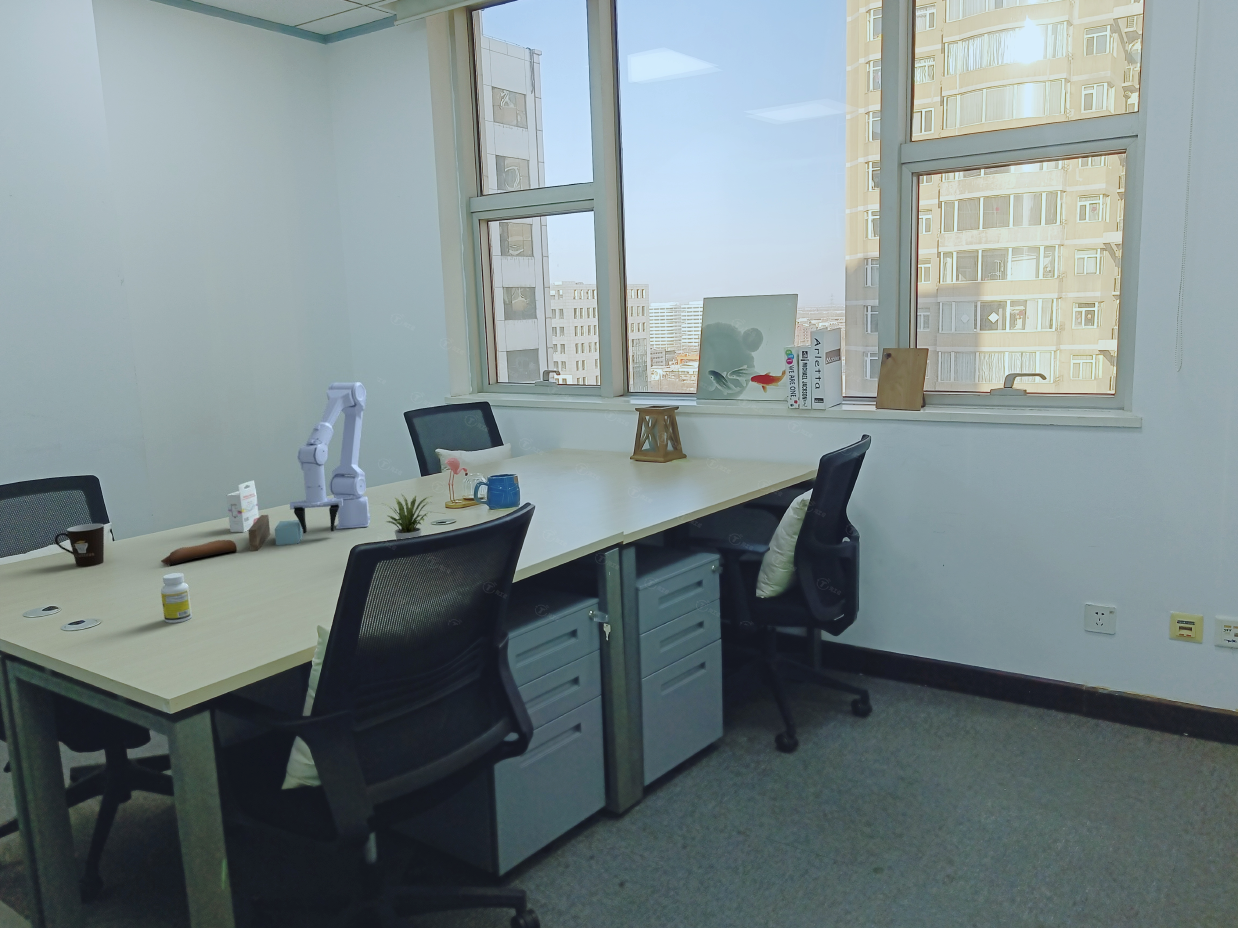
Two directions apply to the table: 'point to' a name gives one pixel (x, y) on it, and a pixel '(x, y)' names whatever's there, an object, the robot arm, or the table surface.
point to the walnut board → (259, 532)
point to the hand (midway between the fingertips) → (318, 531)
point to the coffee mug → (86, 544)
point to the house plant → (407, 519)
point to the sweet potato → (200, 551)
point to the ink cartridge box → (243, 507)
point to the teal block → (288, 532)
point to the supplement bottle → (176, 598)
